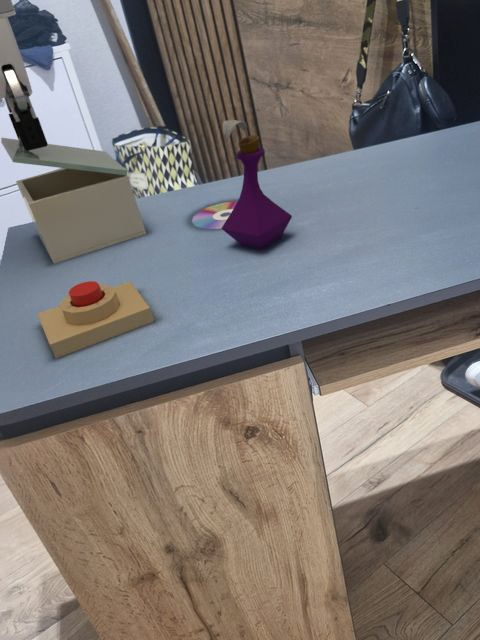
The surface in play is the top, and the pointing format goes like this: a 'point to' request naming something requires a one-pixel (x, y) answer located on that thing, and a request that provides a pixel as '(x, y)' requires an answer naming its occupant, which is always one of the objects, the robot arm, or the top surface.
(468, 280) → the top surface
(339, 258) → the top surface
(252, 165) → the perfume bottle
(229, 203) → the cd
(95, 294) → the button
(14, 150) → the lid
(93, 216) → the compartment
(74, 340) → the control block
